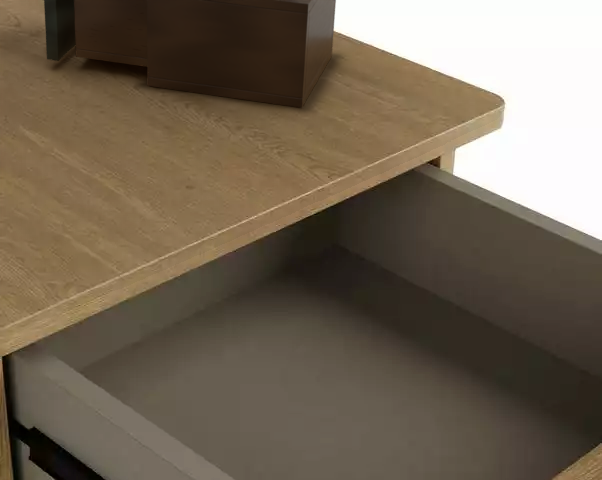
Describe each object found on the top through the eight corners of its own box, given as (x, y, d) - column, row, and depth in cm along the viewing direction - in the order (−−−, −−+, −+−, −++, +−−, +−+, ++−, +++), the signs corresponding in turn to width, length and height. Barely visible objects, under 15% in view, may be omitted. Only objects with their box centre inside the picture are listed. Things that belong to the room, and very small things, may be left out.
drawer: (-21, 50, 123) (-27, -32, 119) (31, 8, 134) (27, -68, 130) (184, 79, 120) (185, -4, 116) (221, 34, 131) (223, -43, 127)
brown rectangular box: (147, 85, 121) (146, -17, 116) (190, 37, 132) (191, -59, 127) (301, 108, 119) (308, 4, 113) (331, 56, 130) (338, -41, 125)
